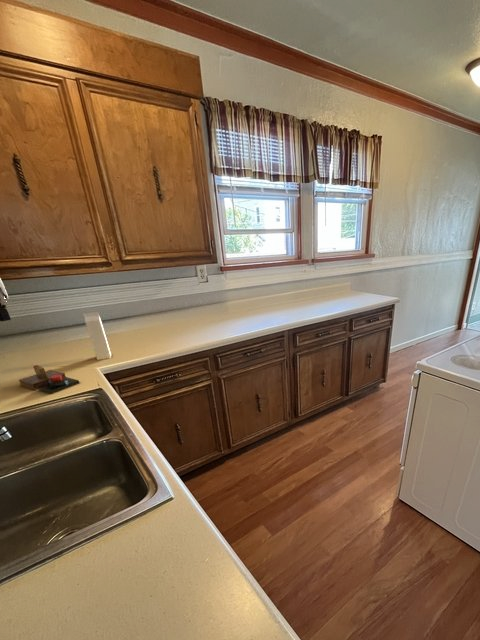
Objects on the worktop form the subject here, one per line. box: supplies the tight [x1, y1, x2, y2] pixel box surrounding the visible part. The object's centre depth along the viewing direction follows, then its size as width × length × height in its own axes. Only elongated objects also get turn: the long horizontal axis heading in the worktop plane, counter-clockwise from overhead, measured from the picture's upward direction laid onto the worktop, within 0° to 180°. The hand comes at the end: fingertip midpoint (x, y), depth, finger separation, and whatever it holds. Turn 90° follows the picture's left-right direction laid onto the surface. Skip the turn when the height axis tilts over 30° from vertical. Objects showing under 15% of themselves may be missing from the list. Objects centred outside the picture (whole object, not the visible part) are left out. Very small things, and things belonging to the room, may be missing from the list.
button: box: [50, 375, 63, 382], centre depth 128 cm, size 4×4×2 cm
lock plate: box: [18, 369, 67, 391], centre depth 133 cm, size 12×10×3 cm
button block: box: [38, 375, 80, 395], centre depth 129 cm, size 11×8×4 cm
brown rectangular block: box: [32, 364, 47, 378], centre depth 131 cm, size 6×2×4 cm, turn 57°
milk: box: [83, 311, 112, 361], centre depth 156 cm, size 6×6×22 cm
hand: (4, 320), depth 116 cm, fingers closed
